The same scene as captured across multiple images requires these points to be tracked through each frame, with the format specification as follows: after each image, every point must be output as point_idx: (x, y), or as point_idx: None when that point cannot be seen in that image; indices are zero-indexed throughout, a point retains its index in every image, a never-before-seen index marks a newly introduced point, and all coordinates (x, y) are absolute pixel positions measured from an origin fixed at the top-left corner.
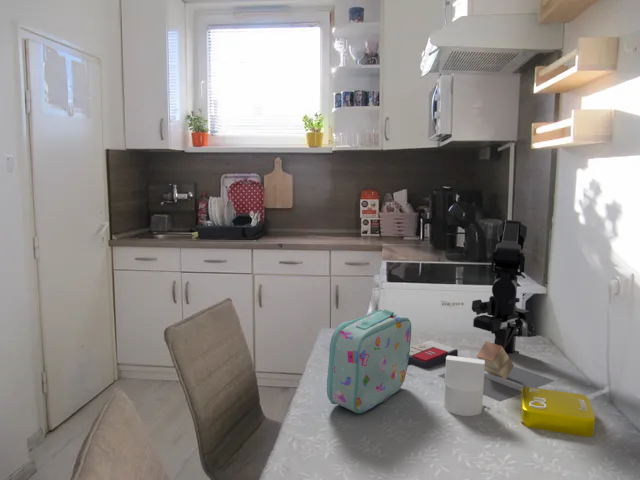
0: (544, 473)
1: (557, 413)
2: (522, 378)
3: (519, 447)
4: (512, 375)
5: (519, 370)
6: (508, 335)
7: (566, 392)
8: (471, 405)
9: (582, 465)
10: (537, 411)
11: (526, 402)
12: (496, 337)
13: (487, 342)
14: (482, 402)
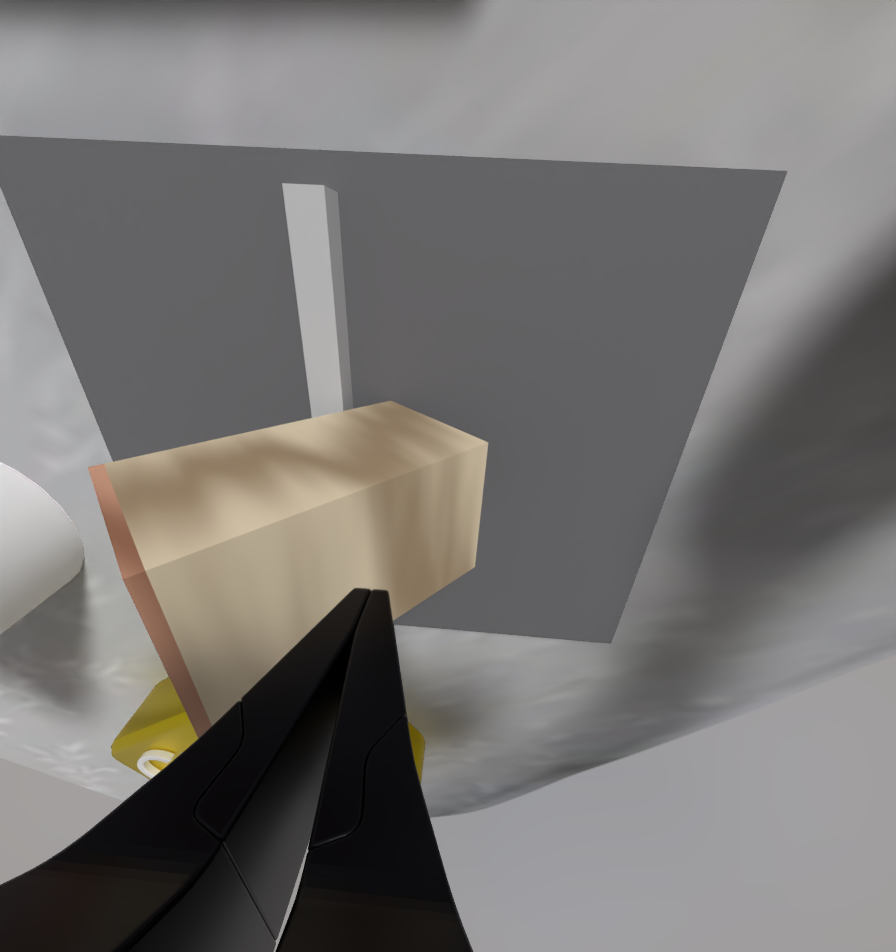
0: (47, 772)
1: None
2: (507, 548)
3: (56, 722)
4: (505, 496)
5: (631, 480)
6: (278, 912)
7: None
8: None
9: None
10: (140, 773)
11: (149, 742)
12: (228, 725)
13: (132, 596)
14: (36, 606)
